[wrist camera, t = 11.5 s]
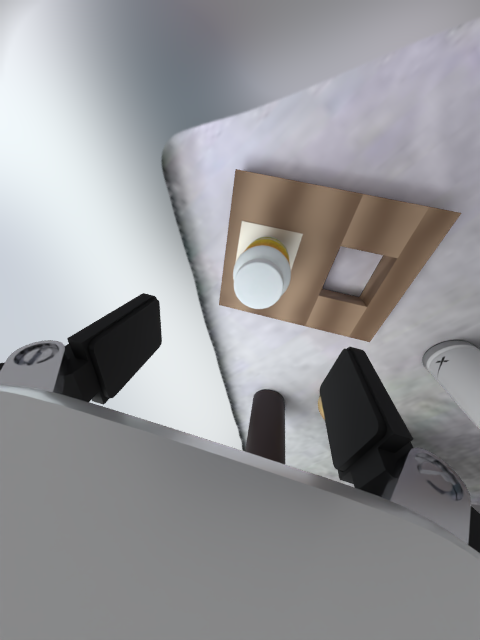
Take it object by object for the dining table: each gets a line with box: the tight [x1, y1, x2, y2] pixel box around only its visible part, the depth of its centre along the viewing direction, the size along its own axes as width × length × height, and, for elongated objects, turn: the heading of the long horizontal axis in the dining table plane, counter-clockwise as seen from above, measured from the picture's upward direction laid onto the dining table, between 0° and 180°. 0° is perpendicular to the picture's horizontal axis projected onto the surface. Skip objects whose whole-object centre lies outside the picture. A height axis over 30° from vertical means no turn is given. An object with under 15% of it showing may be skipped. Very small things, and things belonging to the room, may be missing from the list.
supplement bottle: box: [233, 237, 291, 309], centre depth 19 cm, size 5×5×10 cm
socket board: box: [219, 169, 461, 342], centre depth 24 cm, size 22×16×3 cm
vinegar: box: [245, 390, 285, 464], centre depth 33 cm, size 7×7×20 cm
